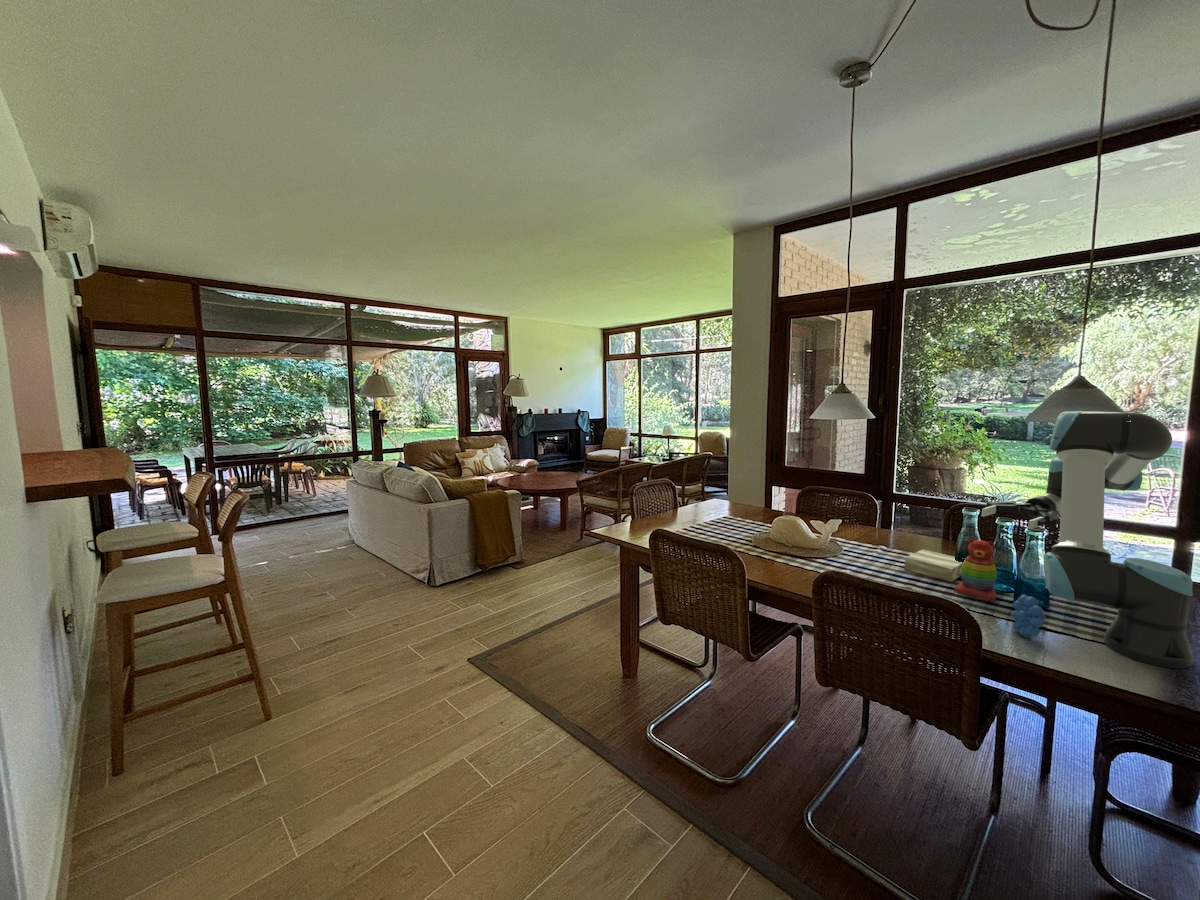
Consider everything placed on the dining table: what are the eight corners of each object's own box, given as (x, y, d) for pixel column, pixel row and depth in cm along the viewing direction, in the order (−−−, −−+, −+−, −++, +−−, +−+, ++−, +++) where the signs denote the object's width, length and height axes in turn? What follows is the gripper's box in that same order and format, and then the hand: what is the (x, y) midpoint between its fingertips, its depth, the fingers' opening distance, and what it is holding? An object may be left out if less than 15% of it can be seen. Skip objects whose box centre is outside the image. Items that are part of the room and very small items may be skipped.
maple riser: (950, 582, 171) (952, 569, 171) (904, 570, 183) (905, 557, 183) (967, 573, 180) (968, 560, 179) (921, 561, 192) (922, 549, 191)
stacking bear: (952, 591, 163) (957, 540, 161) (960, 583, 170) (965, 533, 167) (993, 602, 155) (999, 548, 153) (1000, 593, 162) (1005, 541, 159)
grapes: (1057, 649, 127) (1062, 606, 126) (1026, 646, 129) (1031, 603, 127) (1031, 628, 138) (1035, 587, 137) (1003, 625, 140) (1007, 585, 139)
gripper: (1088, 528, 158) (1050, 541, 151) (1001, 507, 181) (964, 518, 173) (1091, 506, 157) (1053, 518, 149) (1003, 487, 180) (966, 498, 172)
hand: (1005, 518), depth 161 cm, fingers open, 13 cm apart
